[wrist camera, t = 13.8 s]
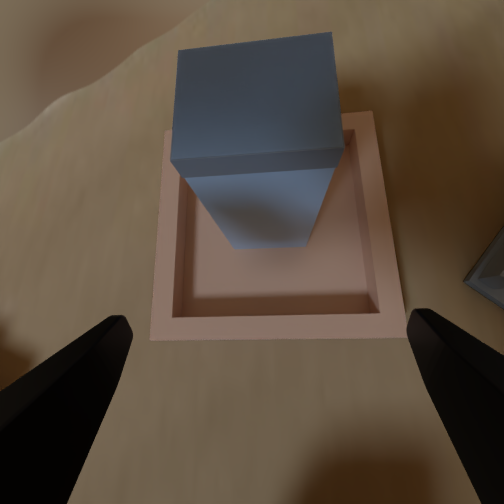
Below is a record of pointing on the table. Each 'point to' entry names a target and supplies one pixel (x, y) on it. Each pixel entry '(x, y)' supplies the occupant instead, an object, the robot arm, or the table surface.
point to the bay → (490, 272)
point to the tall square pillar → (259, 135)
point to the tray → (283, 262)
